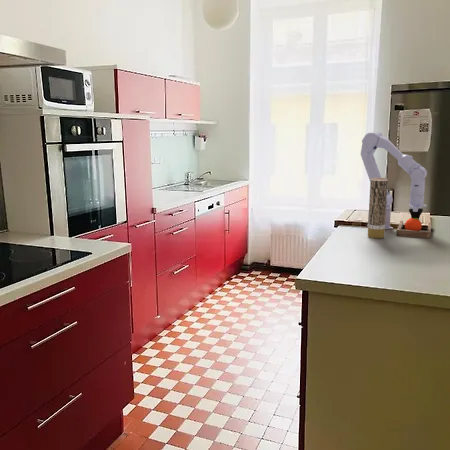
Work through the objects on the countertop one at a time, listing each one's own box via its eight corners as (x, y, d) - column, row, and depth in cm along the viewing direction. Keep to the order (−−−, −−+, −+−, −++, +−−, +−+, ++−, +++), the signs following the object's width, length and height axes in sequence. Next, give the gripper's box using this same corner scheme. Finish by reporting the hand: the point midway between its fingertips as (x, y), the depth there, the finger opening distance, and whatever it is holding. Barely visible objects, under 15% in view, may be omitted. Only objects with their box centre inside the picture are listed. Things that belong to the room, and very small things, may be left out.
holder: (429, 238, 199) (430, 232, 198) (396, 235, 204) (396, 229, 204) (431, 228, 217) (431, 222, 217) (400, 225, 223) (400, 220, 222)
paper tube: (382, 235, 205) (385, 177, 200) (385, 239, 198) (389, 179, 193) (366, 235, 206) (369, 177, 200) (369, 238, 199) (372, 179, 194)
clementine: (422, 232, 210) (424, 216, 208) (424, 235, 203) (425, 219, 202) (403, 231, 212) (404, 215, 210) (404, 234, 205) (405, 218, 204)
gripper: (426, 197, 200) (424, 228, 203) (427, 192, 213) (425, 222, 215) (408, 196, 202) (406, 227, 205) (410, 192, 215) (408, 221, 218)
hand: (414, 224), depth 211 cm, fingers closed
